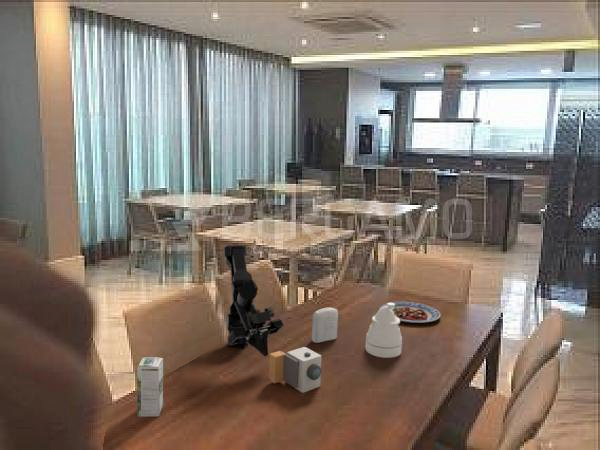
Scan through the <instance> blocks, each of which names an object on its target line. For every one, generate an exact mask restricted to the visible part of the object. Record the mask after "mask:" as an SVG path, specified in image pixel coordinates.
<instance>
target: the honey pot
mask: <svg viewBox="0 0 600 450" xmlns="http://www.w3.org/2000/svg"><path fill="white" fill-rule="evenodd" d="M386 303H387V305H388V306H383V307H382V308H379V310H378V311H376V314H375V315H373V316H372V318H371V320H372V322H371V323H370V325H369V328H368V331H367V333H366V335H365V351H366V352H367V353H368V354H370V355H372V356H375V357H378V358H385V359H386V358H387V359H388V358H396V357H398V356H400V355H401V354H402V347H403V336H402V334H401V329H400V326H399V325H400V324H401V321H400V319H399V318H397V317H395V315H394V313H393V311H392V309H393V308H394V306H395V304H394V303H390V302H386Z"/></svg>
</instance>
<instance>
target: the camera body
mask: <svg viewBox="0 0 600 450" xmlns="http://www.w3.org/2000/svg"><path fill="white" fill-rule="evenodd" d="M286 354H287V355H289V356H291V357H292V358H294V359H296V360H298V386H297V388H295V389H296V390H297V391H298V392H300V393H302V394H304V393H306V392H309V391H311V390H314V389H317V388H319V387H321V381H322V380H321V378H322V377H321V376H322V355H321V354H319V353H317V352H316V351H313V350H312V349H310V348H308V347H306V346H303V347H300V348H296V349H293V350H290V351H287V352H286Z"/></svg>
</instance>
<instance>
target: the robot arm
mask: <svg viewBox="0 0 600 450" xmlns="http://www.w3.org/2000/svg"><path fill="white" fill-rule="evenodd" d="M247 249H248V248H247V246H245V245H243V244H233V245H232V244H231V245H230V244H228V245H227V244H226V246H224V247H223V249H222V250H223V258H225V259H224V261H225V264H226V266H227V267H228V268H229V271H230V272H229V273H230V286H231V287H230V290H231V299H232V301H231V302H232V303H231V305H230V308H229V310H228V313H227V316H226V320H225V321H226V329H227V331H228V333H229V334H228V337H227V342H228V343H227V347H230V348H240V349H241V348H242V349H245V348H246V347H247V345H250V346H251V347H253V348H254V349H255V350H257V351H258V352H259V353H260V354H261V355H262V356H263V357H268V356H269V348H268V345H269V344H268V337H269V336H271V335H273V334H277V333H278V332H280V330H281V329H283V327H284V326H285V324H284V322H283V320H282V319H281V318H277V319H273V320H272V318H274V317H275V311H274V309H273V308H272V307H267V308H264V311H262V312H261V310H260V309H256V306H255V301H256V299H257V294H258V290H259V287H258V285H257V283H256V282H255V280H253V276H252V274H251V273H250V272H249V271H248V269H247V264H246V263H247V262H246V258H247V256H248V252H247ZM267 322H268V323H267ZM266 323H267V324H266Z"/></svg>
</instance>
